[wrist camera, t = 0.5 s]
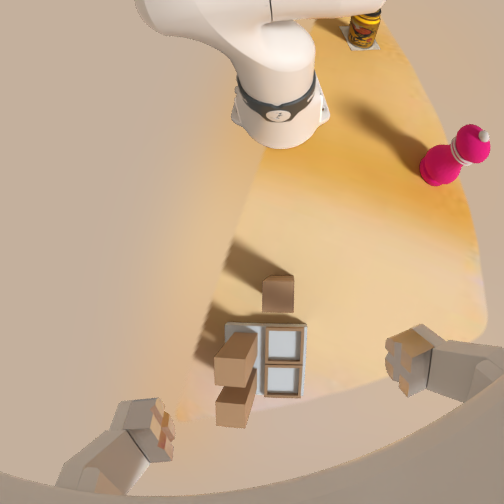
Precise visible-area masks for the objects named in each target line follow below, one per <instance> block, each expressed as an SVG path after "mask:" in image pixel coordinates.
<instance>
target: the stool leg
mask: <svg viewBox="0 0 504 504" xmlns="http://www.w3.org/2000/svg"><path fill="white" fill-rule="evenodd" d="M262 312H278V313H293V312H294V277H293V276H269V277H268V278H266V279H265V280H264V281H263V291H262Z"/></svg>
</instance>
